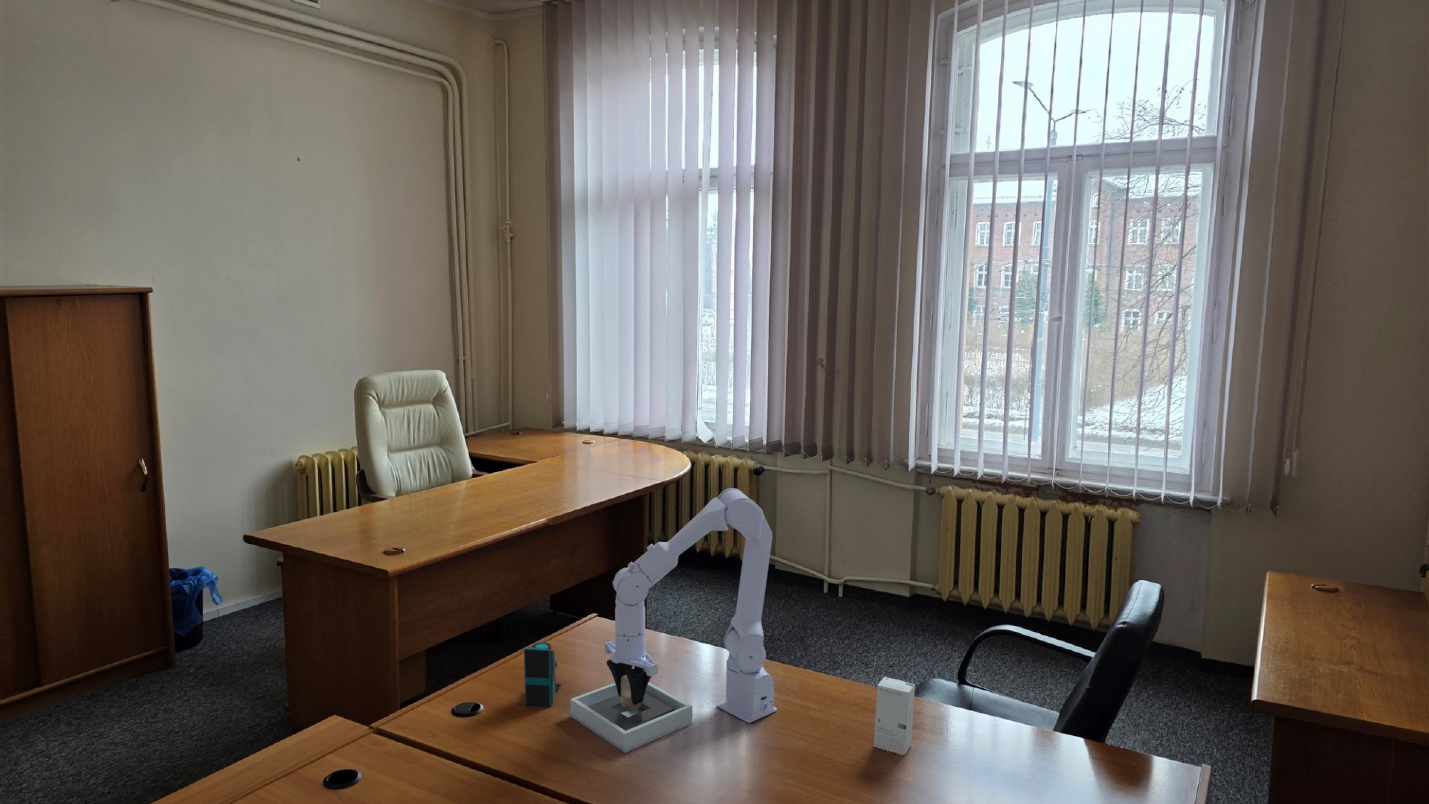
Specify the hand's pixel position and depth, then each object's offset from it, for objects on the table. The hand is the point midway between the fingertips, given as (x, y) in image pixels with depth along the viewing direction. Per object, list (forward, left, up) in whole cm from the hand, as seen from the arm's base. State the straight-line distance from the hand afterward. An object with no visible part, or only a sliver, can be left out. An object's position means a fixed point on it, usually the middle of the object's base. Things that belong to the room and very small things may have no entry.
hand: (630, 698), depth 162 cm
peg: (0, 0, -2) cm, 2 cm away
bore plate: (0, 0, -4) cm, 4 cm away
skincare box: (-40, -30, -5) cm, 50 cm away
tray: (0, 0, -4) cm, 4 cm away
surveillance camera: (+20, +7, -5) cm, 22 cm away
